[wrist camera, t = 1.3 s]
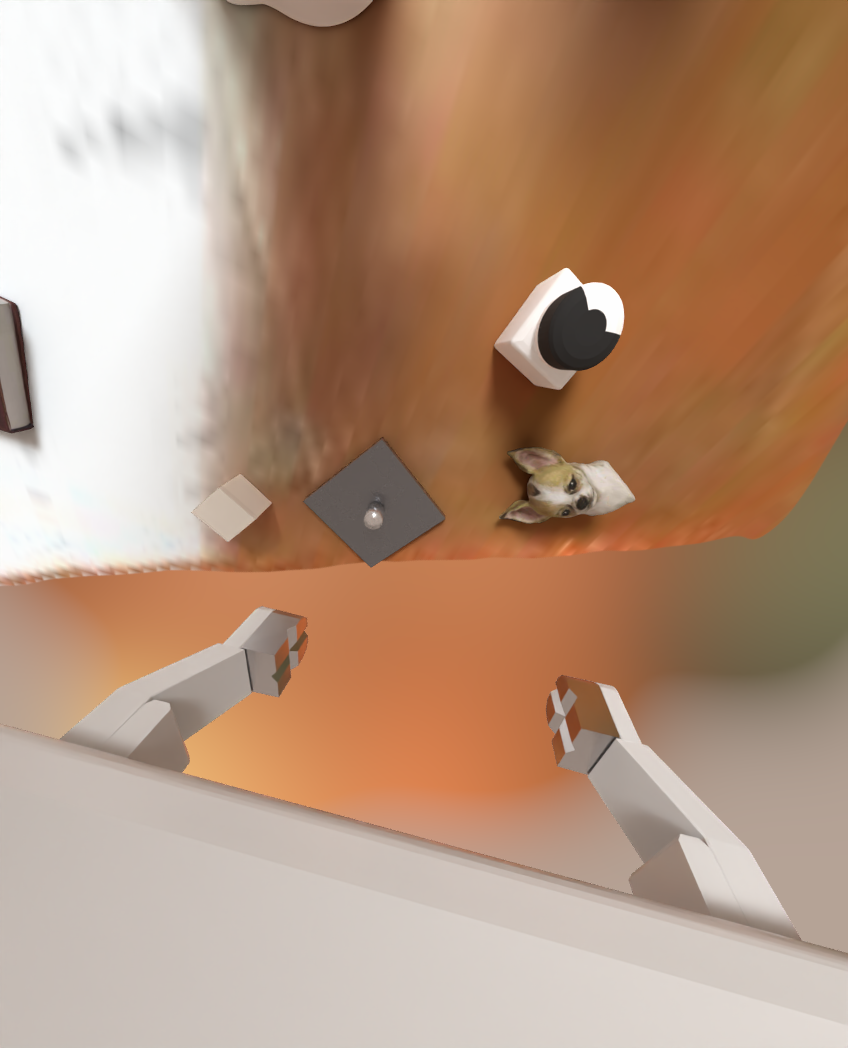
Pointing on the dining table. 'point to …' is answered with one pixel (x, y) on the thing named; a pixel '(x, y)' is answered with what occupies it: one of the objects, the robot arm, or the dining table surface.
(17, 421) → the book
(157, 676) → the robot arm
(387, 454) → the post plate
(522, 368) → the medicine bottle
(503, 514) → the ceramic sculpture
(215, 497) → the cream rectangular prism
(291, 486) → the dining table surface
